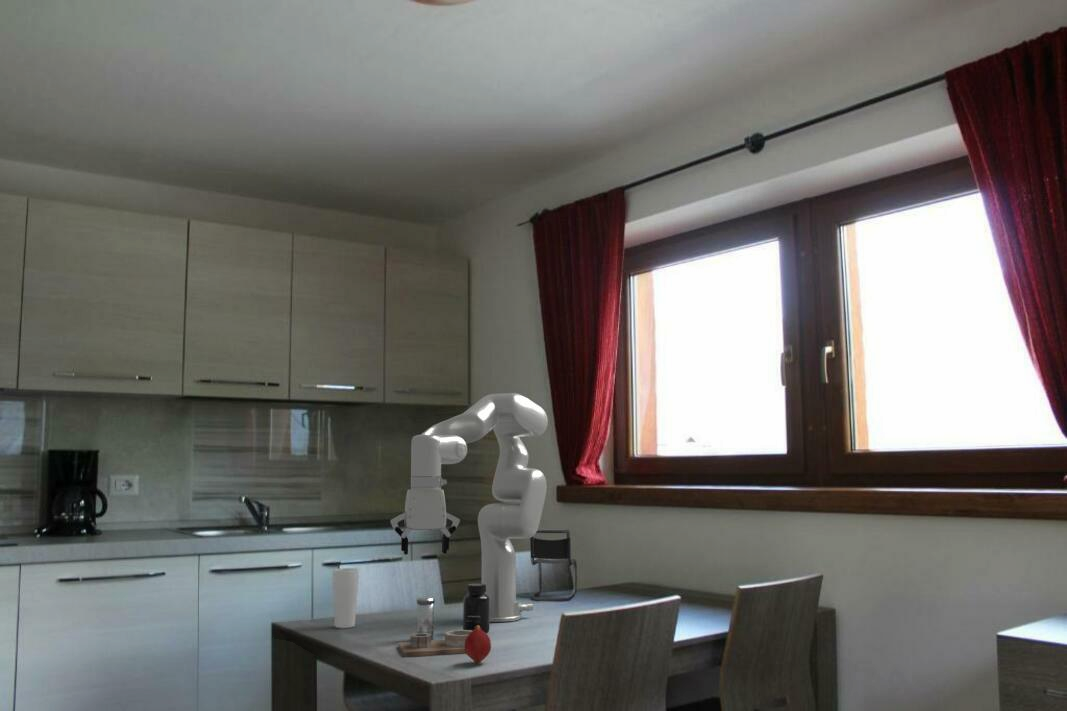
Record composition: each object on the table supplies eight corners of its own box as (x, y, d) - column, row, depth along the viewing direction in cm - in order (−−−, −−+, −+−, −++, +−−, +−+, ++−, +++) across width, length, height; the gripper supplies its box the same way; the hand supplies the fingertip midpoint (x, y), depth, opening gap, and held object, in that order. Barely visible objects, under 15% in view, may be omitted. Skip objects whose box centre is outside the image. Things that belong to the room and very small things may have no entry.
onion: (464, 660, 205) (464, 623, 206) (490, 659, 205) (490, 622, 206) (464, 666, 199) (464, 627, 200) (491, 665, 199) (491, 627, 200)
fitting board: (476, 642, 225) (476, 627, 226) (487, 651, 214) (487, 636, 214) (398, 646, 220) (398, 631, 221) (404, 657, 209) (404, 641, 209)
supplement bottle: (469, 635, 234) (469, 586, 235) (458, 631, 240) (458, 583, 241) (494, 633, 237) (494, 585, 238) (483, 629, 243) (483, 582, 244)
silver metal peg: (432, 637, 232) (433, 596, 233) (435, 640, 227) (435, 599, 229) (415, 638, 231) (415, 597, 232) (417, 641, 226) (417, 599, 227)
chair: (528, 601, 291) (527, 529, 293) (538, 593, 308) (537, 525, 310) (569, 601, 289) (568, 529, 291) (577, 594, 305) (576, 526, 308)
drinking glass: (351, 629, 243) (352, 571, 245) (327, 629, 245) (328, 570, 246) (361, 625, 250) (362, 568, 252) (338, 624, 251) (338, 568, 253)
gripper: (457, 483, 239) (456, 551, 237) (389, 484, 235) (388, 553, 232) (462, 484, 232) (462, 554, 230) (392, 484, 227) (391, 555, 225)
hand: (425, 553), depth 231 cm, fingers open, 9 cm apart
